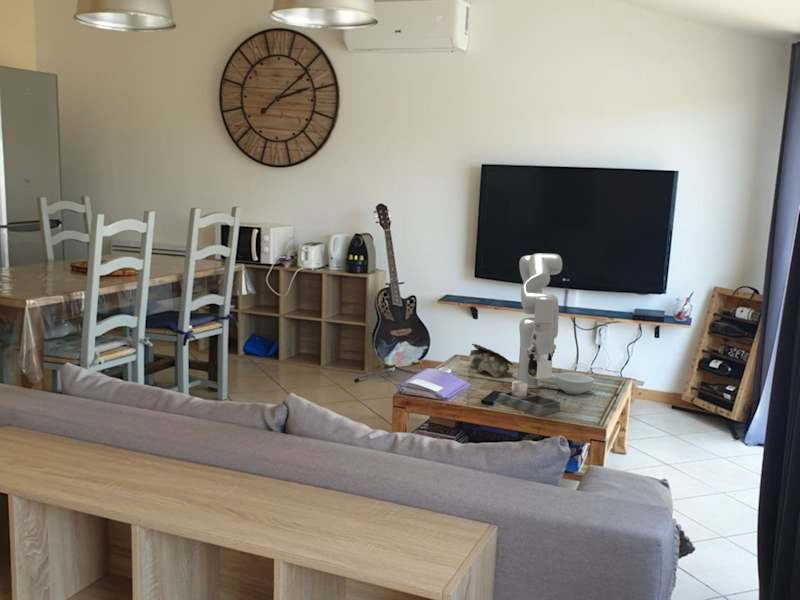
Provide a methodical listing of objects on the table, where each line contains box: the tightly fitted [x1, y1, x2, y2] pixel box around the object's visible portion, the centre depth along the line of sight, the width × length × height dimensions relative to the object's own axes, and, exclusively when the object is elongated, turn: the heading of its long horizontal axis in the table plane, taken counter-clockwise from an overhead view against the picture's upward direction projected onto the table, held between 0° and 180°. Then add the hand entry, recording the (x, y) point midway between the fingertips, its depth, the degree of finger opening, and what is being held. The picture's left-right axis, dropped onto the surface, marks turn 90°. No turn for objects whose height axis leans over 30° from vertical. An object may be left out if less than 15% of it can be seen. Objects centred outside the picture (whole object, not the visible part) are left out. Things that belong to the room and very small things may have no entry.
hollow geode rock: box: [469, 343, 514, 378], centre depth 392 cm, size 28×13×15 cm
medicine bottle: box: [528, 354, 553, 380], centre depth 330 cm, size 7×7×12 cm
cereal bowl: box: [554, 372, 594, 395], centre depth 361 cm, size 17×17×7 cm
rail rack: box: [498, 380, 562, 417], centre depth 336 cm, size 22×13×9 cm, turn 40°
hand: (540, 367), depth 330 cm, fingers closed on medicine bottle, 9 cm apart
